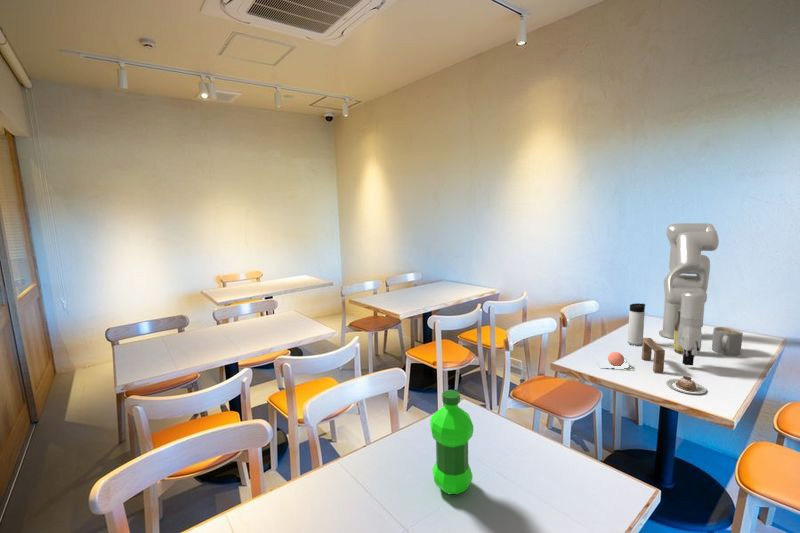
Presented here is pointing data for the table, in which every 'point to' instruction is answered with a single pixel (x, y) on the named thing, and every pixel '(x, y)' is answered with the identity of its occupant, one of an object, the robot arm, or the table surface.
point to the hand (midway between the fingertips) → (687, 364)
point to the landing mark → (629, 366)
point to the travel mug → (636, 324)
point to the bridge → (658, 354)
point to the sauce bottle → (676, 347)
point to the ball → (616, 359)
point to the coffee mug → (727, 341)
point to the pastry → (686, 385)
